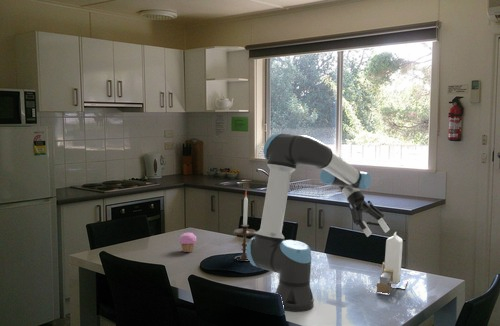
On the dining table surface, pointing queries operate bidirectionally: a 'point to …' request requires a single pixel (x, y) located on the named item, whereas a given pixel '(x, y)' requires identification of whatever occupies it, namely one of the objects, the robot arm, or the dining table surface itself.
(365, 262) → the dining table surface
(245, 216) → the candlestick
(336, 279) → the dining table surface
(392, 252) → the milk
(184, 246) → the cupcake
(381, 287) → the shaft rig
